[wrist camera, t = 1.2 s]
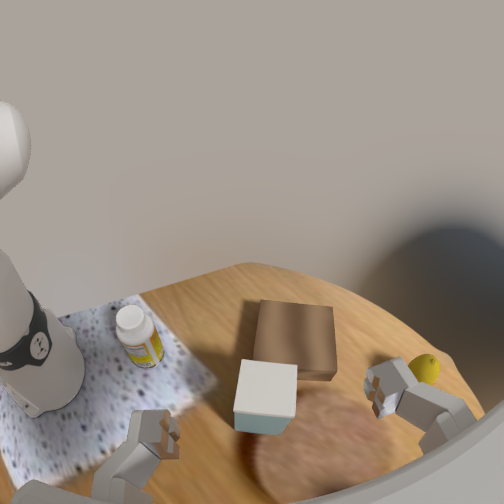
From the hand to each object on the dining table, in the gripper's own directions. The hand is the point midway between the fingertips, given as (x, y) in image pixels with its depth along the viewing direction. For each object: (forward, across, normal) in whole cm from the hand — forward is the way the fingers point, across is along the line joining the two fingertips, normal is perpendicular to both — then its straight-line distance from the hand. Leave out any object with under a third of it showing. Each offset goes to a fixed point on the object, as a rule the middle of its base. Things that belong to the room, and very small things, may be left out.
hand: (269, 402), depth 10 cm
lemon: (+14, -22, +29) cm, 39 cm away
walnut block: (+25, -5, +23) cm, 34 cm away
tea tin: (+14, +2, +24) cm, 28 cm away
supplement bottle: (+24, +18, +19) cm, 35 cm away
